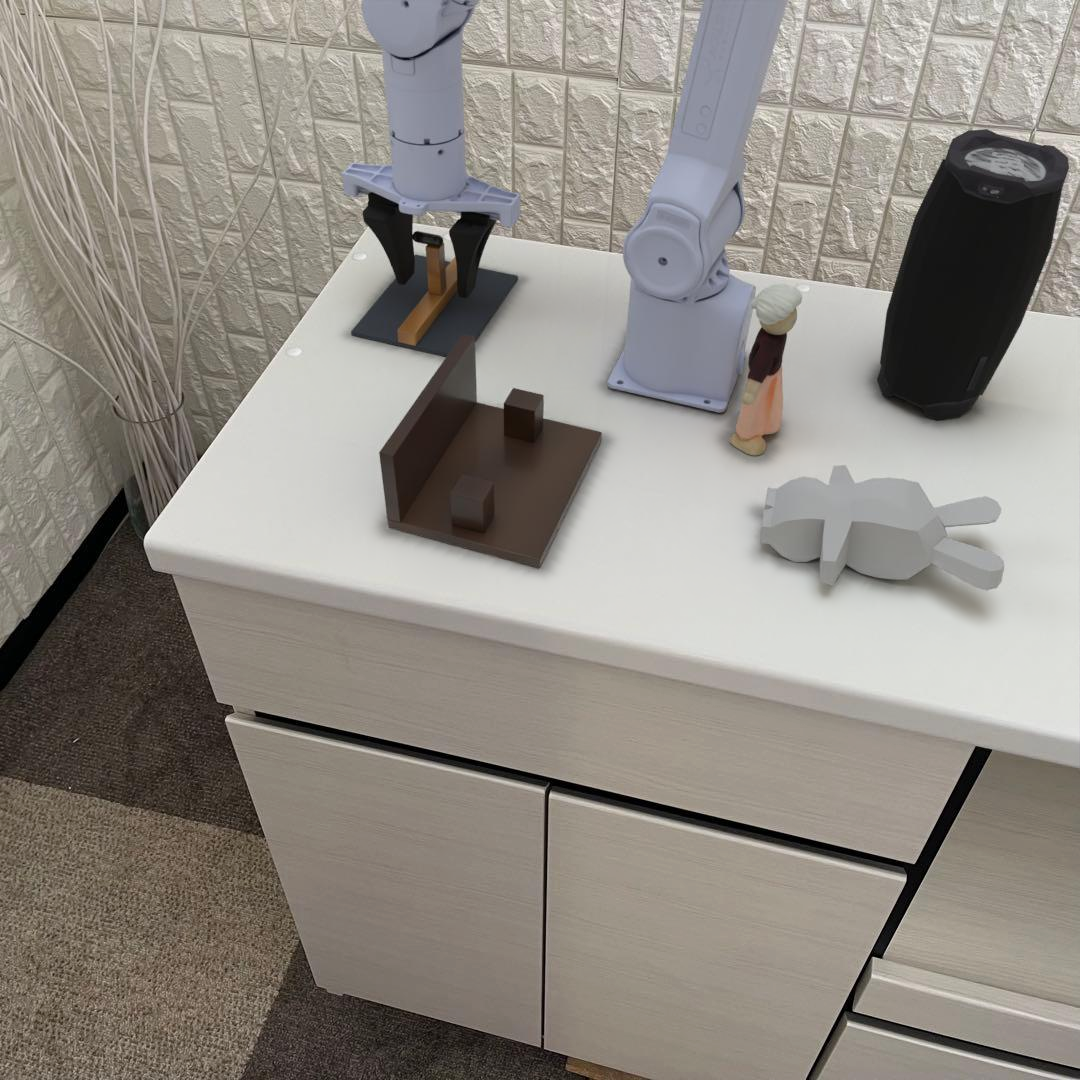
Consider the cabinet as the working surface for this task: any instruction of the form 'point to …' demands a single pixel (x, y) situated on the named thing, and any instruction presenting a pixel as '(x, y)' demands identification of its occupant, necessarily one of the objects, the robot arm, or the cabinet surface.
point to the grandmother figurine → (766, 368)
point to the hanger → (430, 290)
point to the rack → (482, 466)
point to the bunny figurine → (876, 529)
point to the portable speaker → (969, 270)
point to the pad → (450, 322)
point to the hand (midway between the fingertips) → (436, 285)
